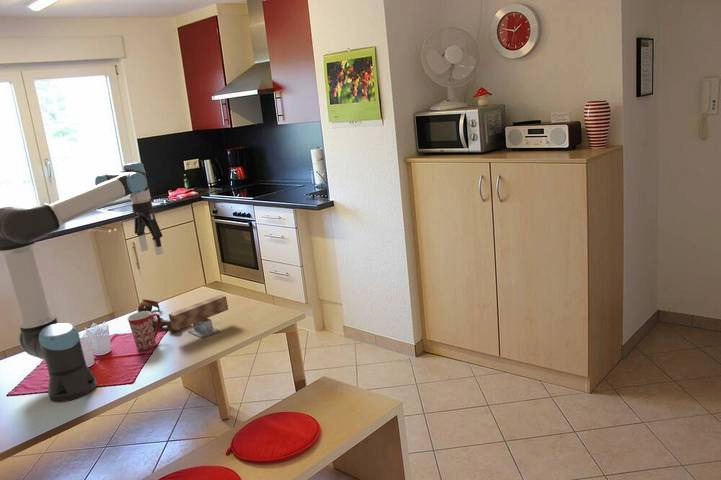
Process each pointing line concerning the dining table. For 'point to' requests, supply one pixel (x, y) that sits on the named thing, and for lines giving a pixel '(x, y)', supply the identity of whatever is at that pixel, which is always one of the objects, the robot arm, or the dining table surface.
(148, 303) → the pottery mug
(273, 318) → the dining table surface
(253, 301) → the dining table surface
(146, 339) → the mug
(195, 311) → the walnut bar
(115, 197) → the robot arm
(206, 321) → the fulcrum
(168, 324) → the kendama
